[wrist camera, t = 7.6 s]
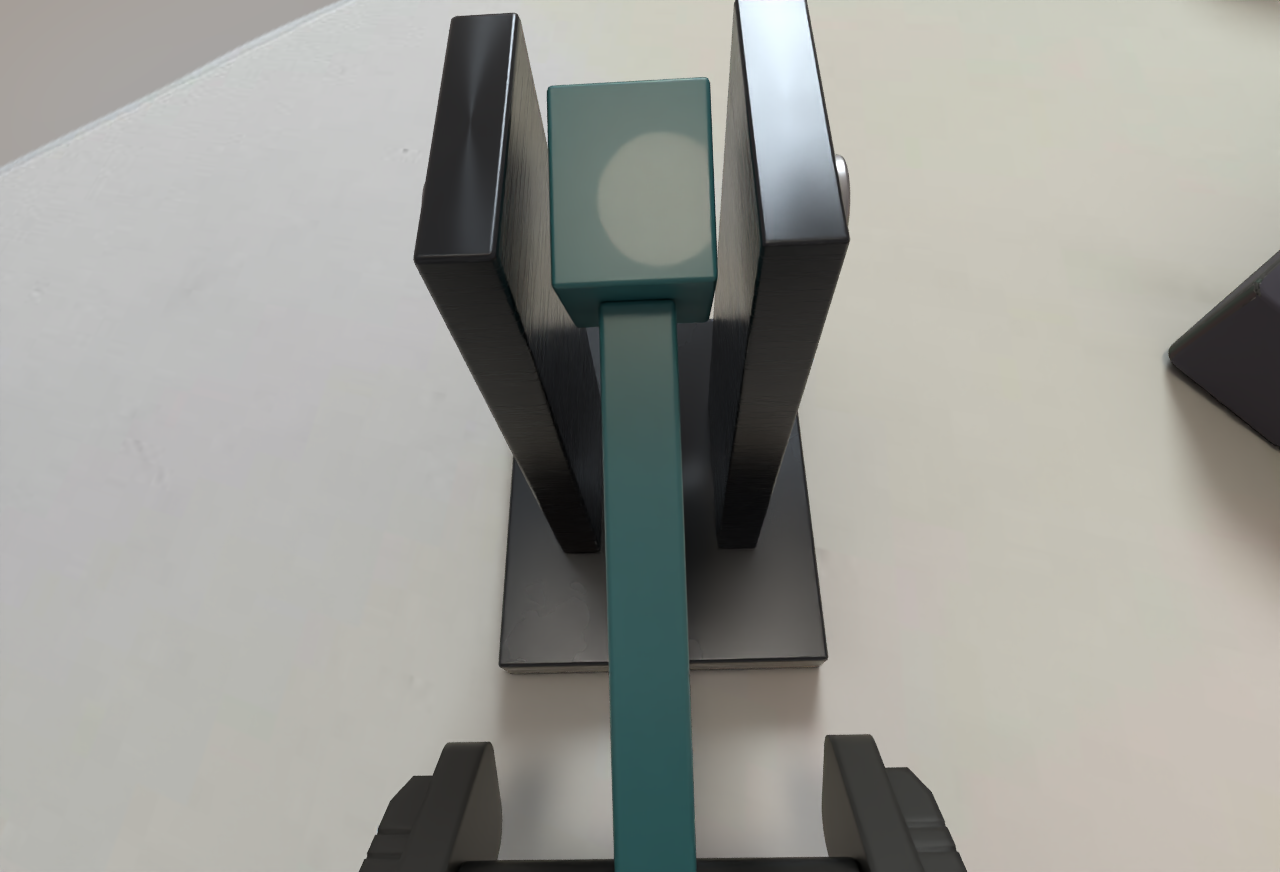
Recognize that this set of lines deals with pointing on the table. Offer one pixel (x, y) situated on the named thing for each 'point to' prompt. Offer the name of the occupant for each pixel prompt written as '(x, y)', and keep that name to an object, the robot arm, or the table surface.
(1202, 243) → the table surface
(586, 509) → the bracket
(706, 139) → the lever
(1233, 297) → the calculator
